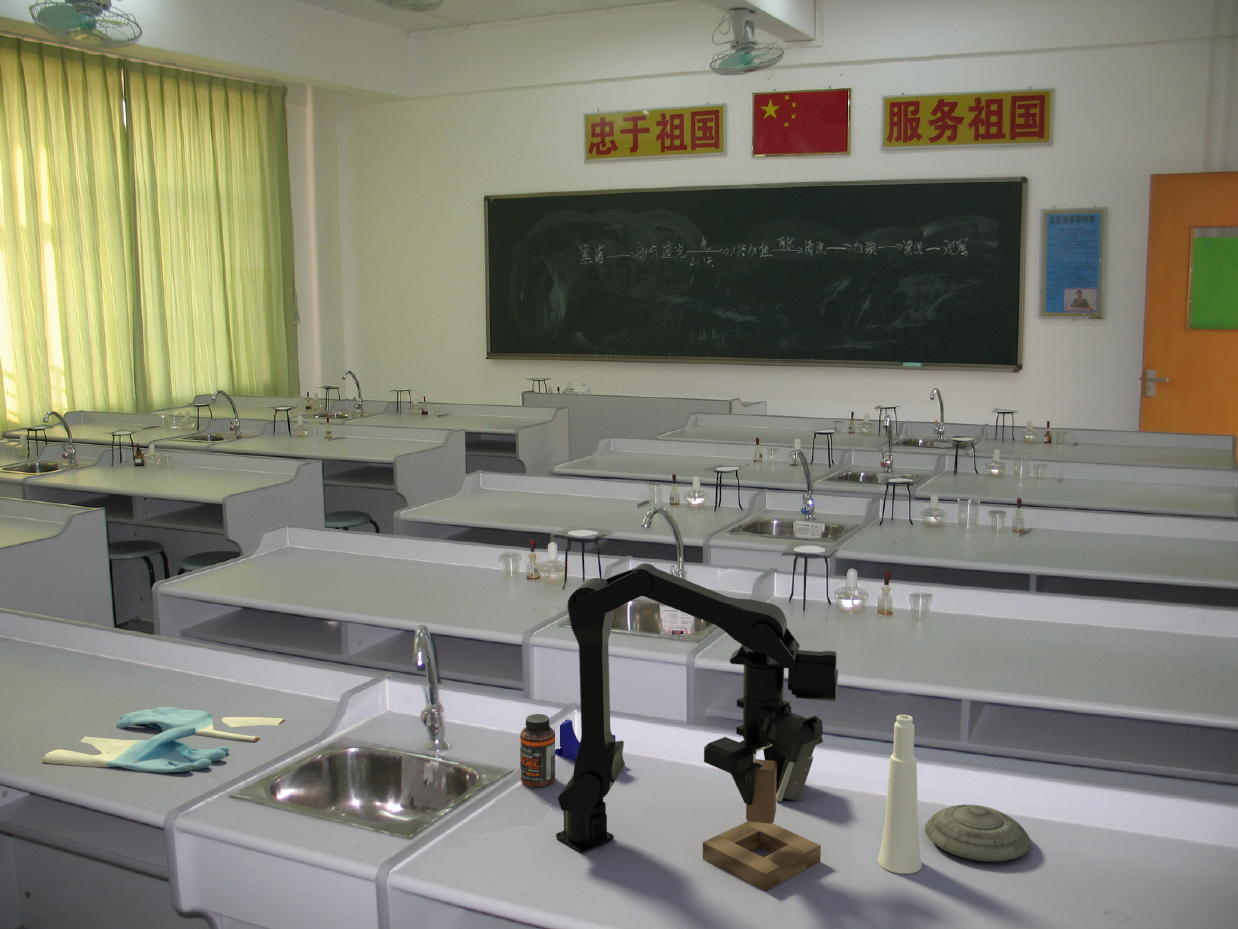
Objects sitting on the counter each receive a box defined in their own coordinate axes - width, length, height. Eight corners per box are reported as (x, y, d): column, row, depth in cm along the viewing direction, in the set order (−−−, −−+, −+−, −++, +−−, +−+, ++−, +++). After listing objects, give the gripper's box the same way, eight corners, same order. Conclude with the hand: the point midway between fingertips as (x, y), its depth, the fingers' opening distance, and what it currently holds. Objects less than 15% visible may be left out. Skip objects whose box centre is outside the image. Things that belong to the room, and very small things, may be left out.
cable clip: (621, 765, 188) (621, 732, 187) (604, 773, 184) (603, 740, 183) (572, 747, 195) (572, 716, 195) (555, 755, 192) (554, 723, 191)
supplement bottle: (514, 786, 179) (513, 721, 178) (529, 772, 185) (528, 709, 183) (546, 791, 177) (545, 726, 175) (561, 776, 183) (560, 713, 181)
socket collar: (702, 858, 155) (702, 842, 154) (757, 832, 162) (757, 816, 162) (765, 891, 146) (765, 874, 145) (820, 861, 153) (820, 845, 153)
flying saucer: (913, 820, 167) (914, 787, 166) (1009, 820, 166) (1011, 787, 166) (940, 869, 152) (942, 833, 151) (1046, 870, 151) (1048, 834, 151)
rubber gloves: (140, 711, 216) (137, 680, 215) (286, 722, 210) (285, 691, 209) (41, 766, 190) (38, 731, 189) (206, 781, 183) (203, 745, 182)
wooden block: (773, 825, 151) (774, 771, 150) (745, 822, 152) (746, 768, 151) (776, 812, 155) (777, 760, 154) (748, 809, 156) (749, 757, 154)
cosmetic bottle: (896, 878, 149) (901, 728, 146) (869, 858, 154) (873, 713, 151) (930, 869, 151) (936, 721, 148) (903, 850, 157) (908, 707, 154)
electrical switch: (771, 779, 181) (777, 727, 180) (802, 782, 181) (808, 731, 180) (775, 804, 172) (782, 749, 171) (807, 808, 172) (814, 753, 170)
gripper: (763, 727, 139) (760, 840, 141) (850, 694, 151) (846, 798, 153) (701, 704, 147) (700, 810, 149) (788, 674, 159) (786, 773, 161)
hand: (761, 798), depth 153 cm, fingers closed on wooden block, 5 cm apart
